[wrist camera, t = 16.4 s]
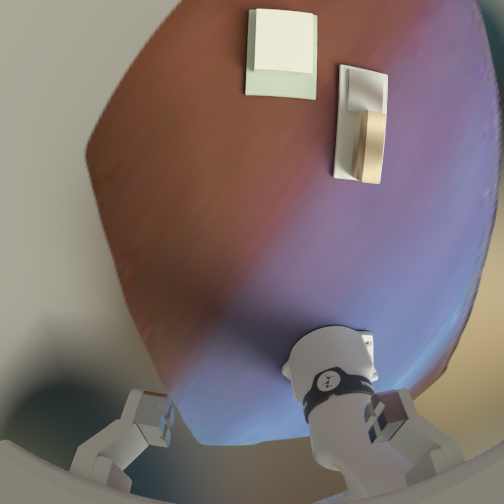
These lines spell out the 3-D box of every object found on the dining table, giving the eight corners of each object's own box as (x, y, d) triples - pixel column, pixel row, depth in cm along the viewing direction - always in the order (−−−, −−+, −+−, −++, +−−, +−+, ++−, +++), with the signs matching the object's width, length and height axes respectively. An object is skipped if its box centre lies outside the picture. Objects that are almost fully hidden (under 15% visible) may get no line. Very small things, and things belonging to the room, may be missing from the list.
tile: (312, 73, 28) (313, 13, 24) (254, 69, 28) (256, 8, 24) (308, 76, 30) (309, 19, 26) (254, 72, 30) (256, 15, 26)
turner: (374, 178, 36) (387, 185, 32) (341, 174, 36) (352, 180, 32) (381, 77, 29) (395, 73, 25) (348, 70, 29) (359, 63, 25)
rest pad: (378, 182, 36) (379, 183, 36) (332, 177, 36) (334, 177, 36) (385, 75, 30) (387, 75, 29) (339, 65, 30) (340, 64, 29)
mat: (315, 99, 32) (315, 99, 32) (245, 94, 32) (245, 94, 31) (316, 16, 26) (317, 15, 26) (249, 10, 26) (249, 9, 26)
